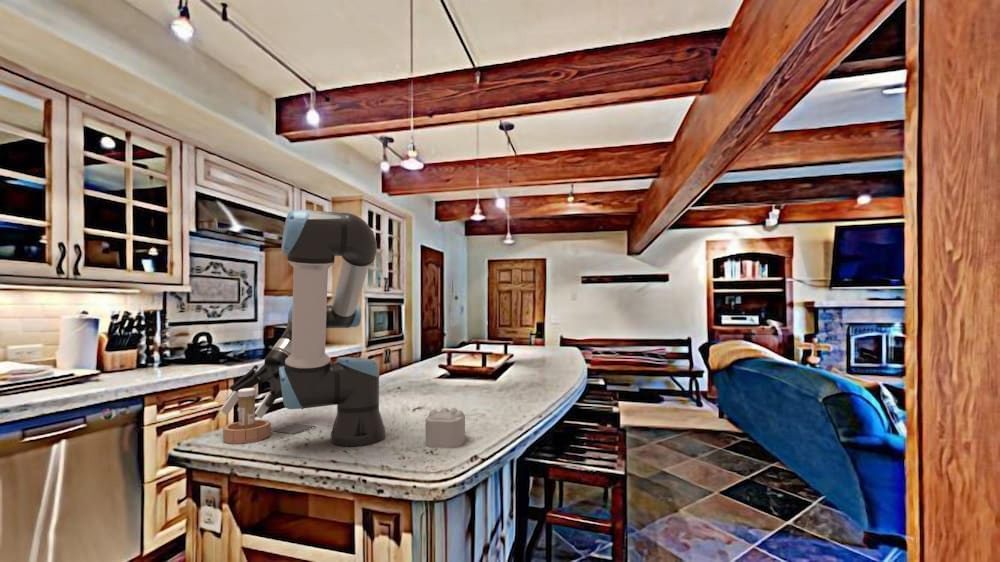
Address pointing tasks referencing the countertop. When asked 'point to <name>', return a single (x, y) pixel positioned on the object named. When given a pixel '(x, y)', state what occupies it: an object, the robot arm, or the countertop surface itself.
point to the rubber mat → (293, 428)
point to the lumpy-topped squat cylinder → (445, 428)
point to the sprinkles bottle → (246, 408)
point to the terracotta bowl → (246, 432)
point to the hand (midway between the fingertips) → (240, 414)
